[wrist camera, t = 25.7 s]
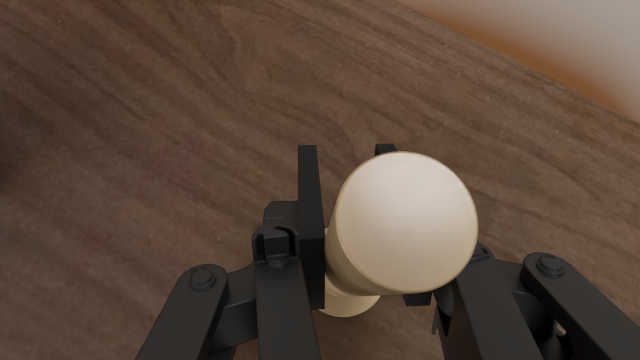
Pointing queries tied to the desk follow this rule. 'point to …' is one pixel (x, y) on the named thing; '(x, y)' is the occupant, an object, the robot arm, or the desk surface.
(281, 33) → the desk surface
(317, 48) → the desk surface
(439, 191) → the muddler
